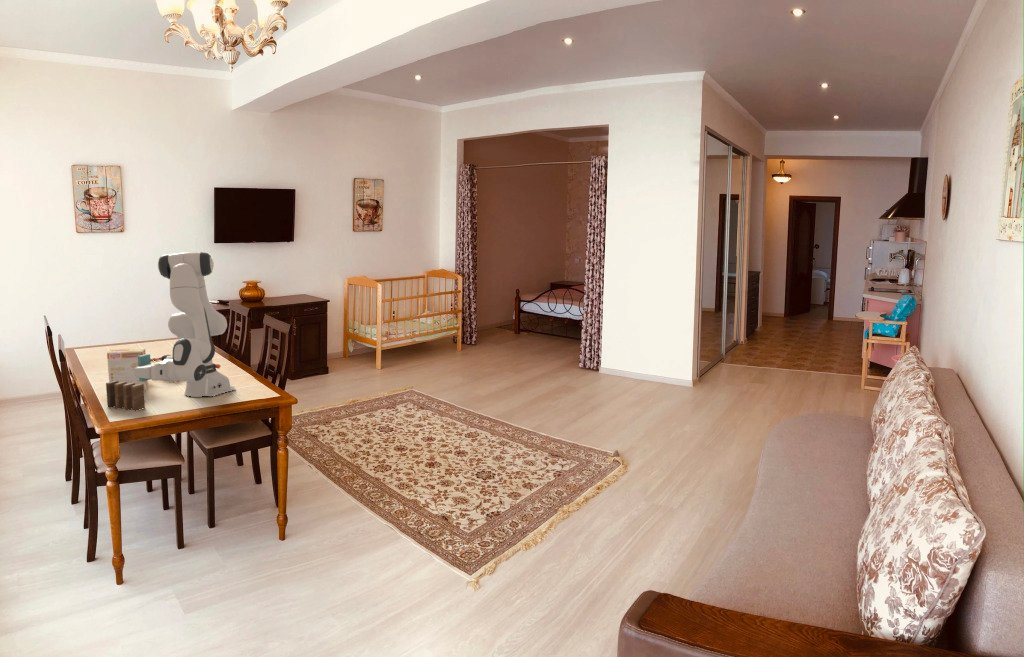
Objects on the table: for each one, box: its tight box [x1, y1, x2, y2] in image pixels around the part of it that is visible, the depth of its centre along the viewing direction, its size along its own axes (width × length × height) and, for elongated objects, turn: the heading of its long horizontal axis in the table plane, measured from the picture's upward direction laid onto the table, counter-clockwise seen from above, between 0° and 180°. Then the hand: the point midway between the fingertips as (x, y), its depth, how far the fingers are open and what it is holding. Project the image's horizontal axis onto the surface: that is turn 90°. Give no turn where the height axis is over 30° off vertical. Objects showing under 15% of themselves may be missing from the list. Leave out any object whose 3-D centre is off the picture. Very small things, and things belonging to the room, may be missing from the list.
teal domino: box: [138, 353, 152, 382], centre depth 287 cm, size 2×5×11 cm, turn 164°
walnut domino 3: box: [131, 383, 146, 412], centre depth 290 cm, size 2×5×11 cm, turn 164°
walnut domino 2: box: [123, 382, 135, 411], centre depth 291 cm, size 2×5×11 cm, turn 164°
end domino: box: [105, 381, 119, 408], centre depth 294 cm, size 2×5×11 cm, turn 164°
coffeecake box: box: [106, 348, 149, 392], centre depth 319 cm, size 15×7×20 cm, turn 108°
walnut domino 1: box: [114, 382, 127, 409], centre depth 292 cm, size 2×5×11 cm, turn 164°
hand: (142, 366), depth 287 cm, fingers closed on teal domino, 5 cm apart
